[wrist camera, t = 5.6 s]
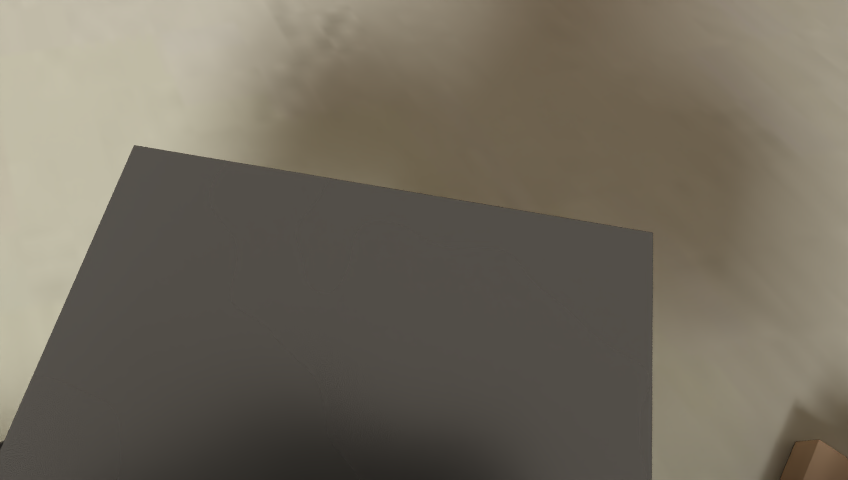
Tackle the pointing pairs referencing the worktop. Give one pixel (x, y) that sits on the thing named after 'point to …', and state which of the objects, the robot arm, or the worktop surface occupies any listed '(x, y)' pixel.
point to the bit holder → (815, 462)
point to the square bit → (339, 338)
